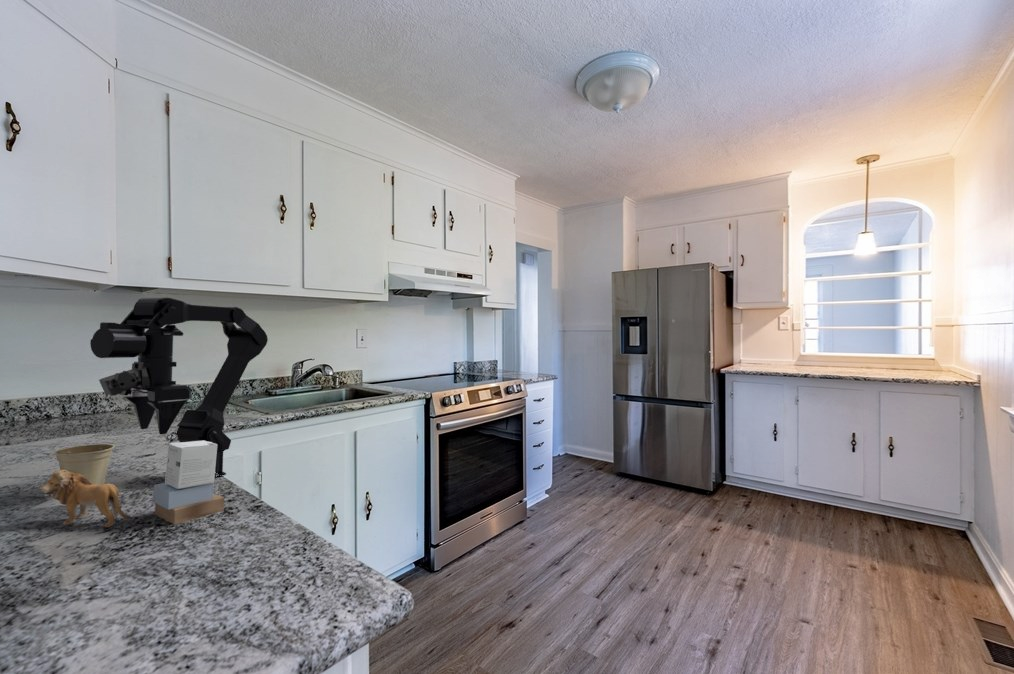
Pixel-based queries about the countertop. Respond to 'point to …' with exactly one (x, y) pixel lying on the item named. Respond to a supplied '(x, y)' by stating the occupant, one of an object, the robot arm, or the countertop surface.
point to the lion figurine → (83, 495)
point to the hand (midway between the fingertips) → (153, 431)
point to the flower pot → (86, 460)
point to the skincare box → (190, 464)
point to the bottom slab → (191, 510)
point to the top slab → (181, 495)
